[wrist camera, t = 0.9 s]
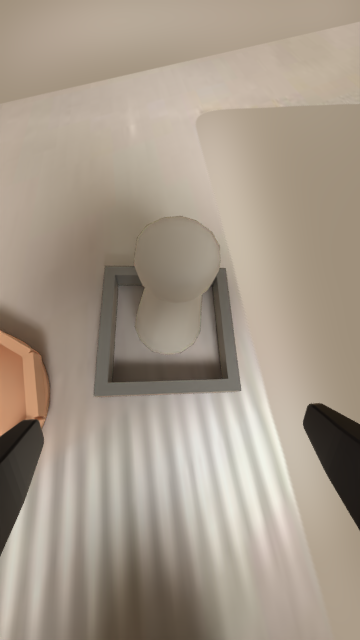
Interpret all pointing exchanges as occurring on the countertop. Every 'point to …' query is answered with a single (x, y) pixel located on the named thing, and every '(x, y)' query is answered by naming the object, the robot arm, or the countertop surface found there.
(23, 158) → the countertop surface
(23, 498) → the robot arm
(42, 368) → the terracotta dish
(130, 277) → the charcoal tray
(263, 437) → the countertop surface
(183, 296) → the salt shaker
